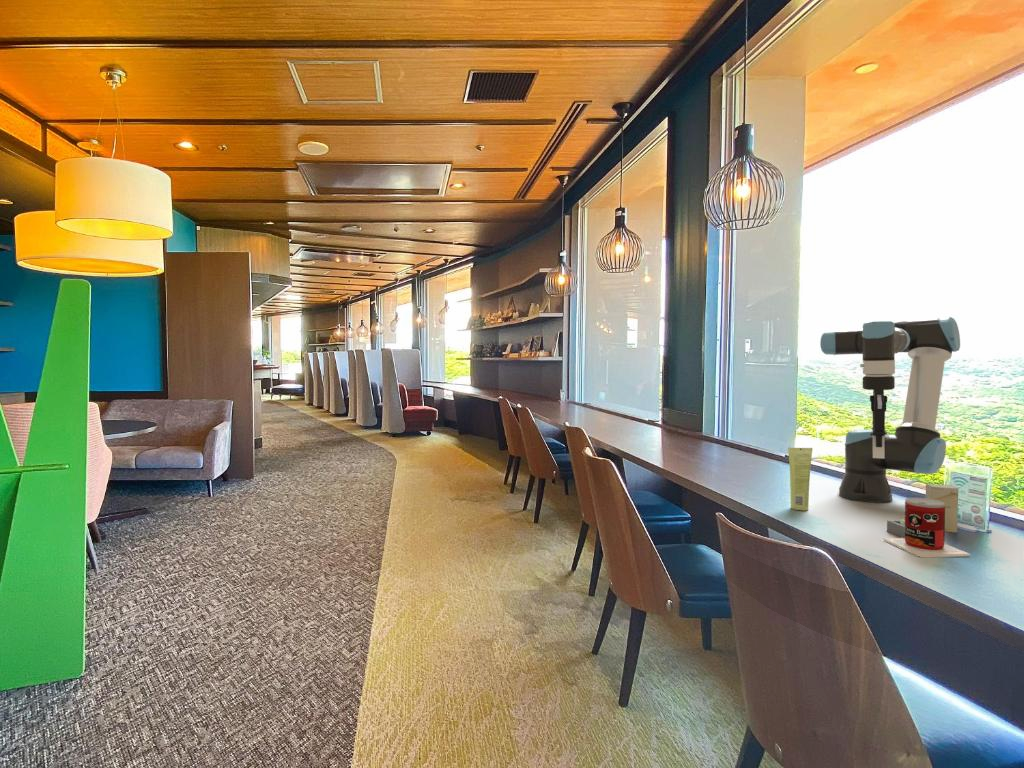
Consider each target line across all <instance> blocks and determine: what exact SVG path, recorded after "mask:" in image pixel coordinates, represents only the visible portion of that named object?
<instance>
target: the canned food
mask: <svg viewBox="0 0 1024 768" xmlns="http://www.w3.org/2000/svg"><path fill="white" fill-rule="evenodd" d="M904 500H905V501H904V519H905V541H906V543H907V544H908V545H910V546H912V547H916V548H920V549H926V550H940V549H943V547H944V544H945V535H946V534H945V503H943V502H941V501H938V500H933V499H927V498H925V497H908V498H905V499H904Z"/></svg>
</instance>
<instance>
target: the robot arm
mask: <svg viewBox="0 0 1024 768" xmlns="http://www.w3.org/2000/svg"><path fill="white" fill-rule="evenodd" d="M958 326H959V325H958V323H957V320H955V318H953V317H952V316H934V317H922V318H921V317H920V318H918V317H917V318H907V319H906V318H902V319H895V320H870V321H865V322H863V324H862V328H853V329H843V330H832V331H831V330H829V331H828V330H827V331H824V332H823V333H822V334H821V337H820V343H819V344H820V350H821V352H822V353H823V354H825V355H829V356H830V355H833V356H836V355H837V356H838V355H839V356H840V355H862V363H861V364H859V367H860V368H862V374H863V375H865V376H863V377H862V389H863V390H865V391H866V390H867V391H872V394H871V395H869V402H870V409H871V412H872V427H871V429H870V428H869V429H868V428H867V429H856V430H850V431H848V432H847V433H846V434H845V442H844V451H845V452H844V458H845V459H844V460H845V461H844V467H845V471H844V475H843V477H842V481H841V483H840V486H839V488H838V490H839V491H838V494H839V496H840V497H843V498H845V499H848V500H854V501H859V502H869V503H870V502H871V503H886V502H887V503H888V502H892V501H893V493H892V490H891V486H890V484H889V481H888V478H887V470H890V471H899V472H907V473H915V474H917V475H918V474H923V475H924V474H925V475H932V474H933V475H934V474H936V473H938V472H939V470H940V469H941V468H942V466H943V464H944V461H945V457H946V452H947V451H946V450H947V444H946V443H947V442H946V440H945V439H944V438H942V437H941V433H940V432H939V430H937V429H936V427H937V426H936V425H937V424H936V423H937V419H938V411H939V403H940V396H941V390H942V385H943V383H942V382H943V376H944V368H945V363H946V361H949V360H950V359H951V358H952V353H953V352H954V353H956V352H958V351H960V348H961V335H960V330H959V327H958ZM898 353H907V356H908V357H909V358H910V359H911V360H912V361H911V367H910V374H909V378H908V379H909V380H908V386H907V393H906V397H905V398H906V400H905V405H904V413H903V418H902V423H901V424H900V425H899V426H896V428H895V432H894V434H893V433H892V434H889V433H888V431H887V429H885V427H886V422H885V420H886V412H887V403H888V396H887V395H885V391H891V390H894V389H895V387H896V386H895V385H896V383H895V382H896V381H895V379H896V377H894V376H893V375H894V374H895V373H896V360H895V354H898Z"/></svg>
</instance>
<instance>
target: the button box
mask: <svg viewBox="0 0 1024 768" xmlns="http://www.w3.org/2000/svg"><path fill="white" fill-rule="evenodd" d="M900 520H901V519H894V520H892V519H891V520H890V519H889V520H886V532H888V533H889V534H893V535H895V536H897V537H899V536H900V537H899V538H902V537H903V538H905V526H904V525H901V524H900Z"/></svg>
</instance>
